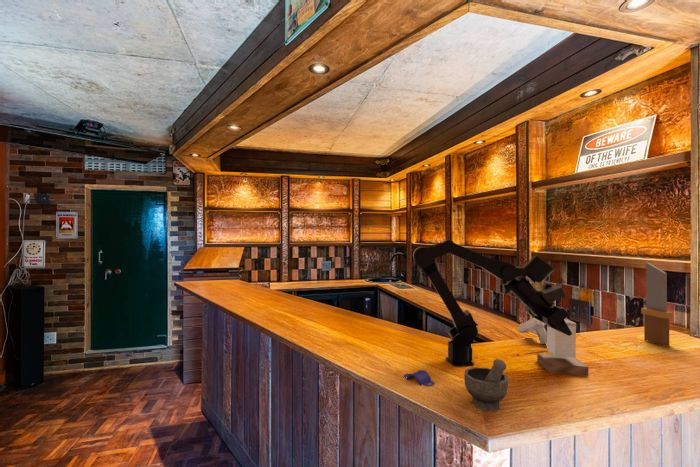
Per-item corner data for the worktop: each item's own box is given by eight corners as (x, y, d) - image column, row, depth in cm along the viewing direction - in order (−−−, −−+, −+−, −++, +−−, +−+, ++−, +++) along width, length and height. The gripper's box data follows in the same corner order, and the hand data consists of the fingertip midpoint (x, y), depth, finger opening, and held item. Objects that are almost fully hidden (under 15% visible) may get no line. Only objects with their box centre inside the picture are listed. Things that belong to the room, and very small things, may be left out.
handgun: (554, 342, 124) (549, 312, 129) (543, 341, 124) (538, 311, 129) (527, 350, 142) (524, 323, 147) (518, 349, 142) (514, 322, 147)
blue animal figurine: (438, 384, 93) (438, 375, 93) (428, 390, 90) (428, 380, 90) (409, 374, 100) (409, 365, 100) (399, 379, 97) (399, 369, 97)
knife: (641, 339, 135) (641, 262, 135) (649, 339, 135) (649, 262, 136) (664, 346, 126) (663, 264, 127) (672, 346, 127) (672, 264, 127)
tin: (554, 356, 102) (555, 322, 102) (546, 350, 108) (546, 317, 108) (576, 357, 101) (576, 323, 102) (566, 351, 107) (567, 318, 107)
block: (550, 374, 100) (550, 364, 100) (537, 362, 110) (537, 353, 110) (588, 377, 99) (588, 366, 99) (571, 364, 109) (571, 355, 109)
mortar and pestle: (456, 397, 85) (456, 347, 85) (490, 393, 87) (490, 345, 87) (484, 420, 74) (484, 364, 74) (522, 415, 76) (522, 360, 76)
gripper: (561, 279, 96) (604, 321, 95) (535, 272, 115) (571, 307, 113) (531, 306, 97) (573, 348, 96) (510, 295, 116) (545, 330, 114)
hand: (565, 332), depth 105 cm, fingers closed on tin, 6 cm apart
